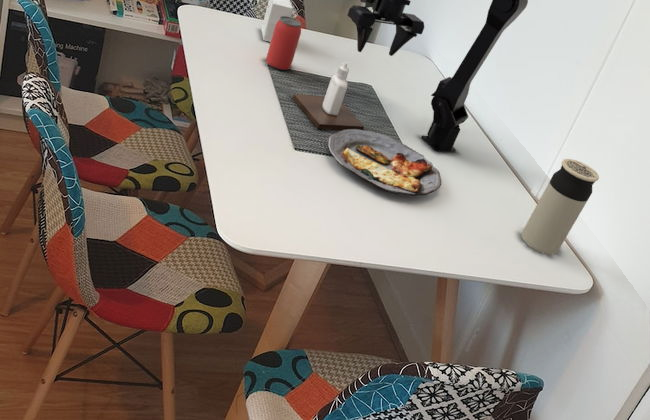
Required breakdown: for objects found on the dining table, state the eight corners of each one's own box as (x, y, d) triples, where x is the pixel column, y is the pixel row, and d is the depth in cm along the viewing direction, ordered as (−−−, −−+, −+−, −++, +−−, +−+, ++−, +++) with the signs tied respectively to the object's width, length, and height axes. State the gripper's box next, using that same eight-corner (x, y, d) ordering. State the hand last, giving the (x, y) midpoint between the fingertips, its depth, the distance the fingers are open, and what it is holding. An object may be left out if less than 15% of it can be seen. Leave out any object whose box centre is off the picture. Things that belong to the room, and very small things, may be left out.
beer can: (261, 58, 188) (273, 13, 182) (284, 60, 191) (297, 17, 185) (270, 69, 183) (283, 24, 177) (294, 72, 186) (307, 27, 180)
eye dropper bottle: (318, 111, 168) (334, 63, 162) (323, 102, 173) (339, 55, 167) (336, 117, 168) (353, 70, 162) (340, 109, 173) (357, 62, 167)
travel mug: (541, 258, 145) (585, 182, 136) (513, 234, 150) (553, 159, 141) (564, 252, 150) (608, 178, 141) (536, 229, 155) (576, 156, 146)
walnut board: (362, 131, 169) (364, 126, 169) (318, 128, 163) (319, 124, 162) (335, 101, 179) (337, 97, 178) (292, 98, 173) (294, 93, 172)
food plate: (452, 180, 162) (459, 167, 160) (412, 216, 143) (418, 201, 141) (357, 129, 169) (362, 115, 168) (306, 156, 151) (311, 141, 149)
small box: (282, 45, 200) (293, 8, 195) (262, 40, 199) (272, 3, 193) (280, 34, 207) (290, -2, 201) (260, 29, 205) (270, -7, 200)
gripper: (411, -17, 179) (389, 43, 187) (347, -29, 170) (327, 34, 177) (436, 1, 172) (412, 62, 180) (370, -10, 162) (348, 55, 170)
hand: (374, 53), depth 177 cm, fingers open, 9 cm apart
